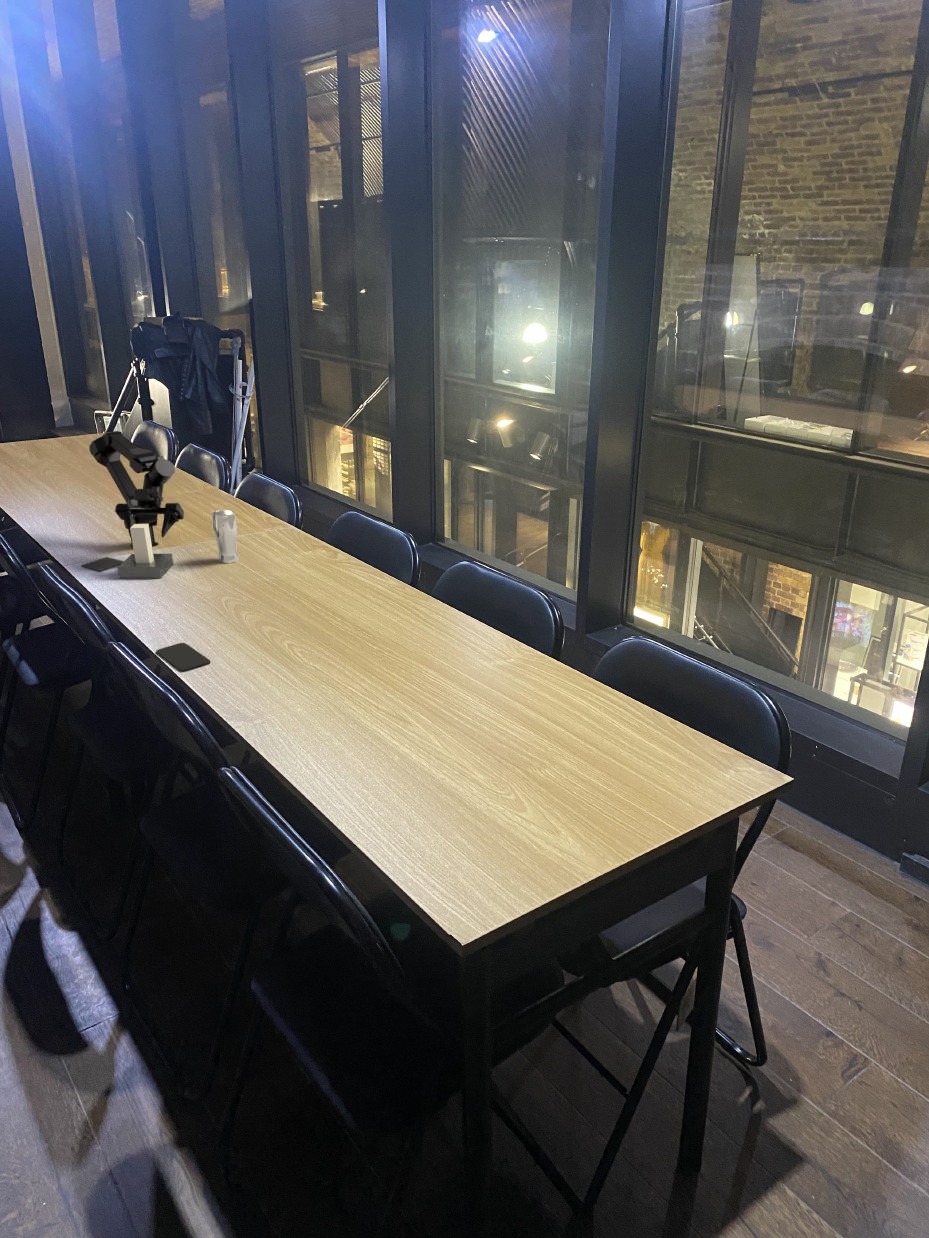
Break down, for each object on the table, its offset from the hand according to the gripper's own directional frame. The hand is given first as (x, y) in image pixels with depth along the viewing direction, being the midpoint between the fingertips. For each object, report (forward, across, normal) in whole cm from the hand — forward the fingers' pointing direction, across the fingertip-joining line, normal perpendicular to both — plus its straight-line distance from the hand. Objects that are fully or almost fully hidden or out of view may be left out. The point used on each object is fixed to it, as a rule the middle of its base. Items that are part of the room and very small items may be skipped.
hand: (146, 536), depth 258 cm
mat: (+5, -15, +9) cm, 18 cm away
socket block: (+9, 0, +4) cm, 10 cm away
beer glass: (+3, +22, +11) cm, 25 cm away
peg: (+9, 0, +4) cm, 10 cm away
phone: (+52, +27, -38) cm, 70 cm away
